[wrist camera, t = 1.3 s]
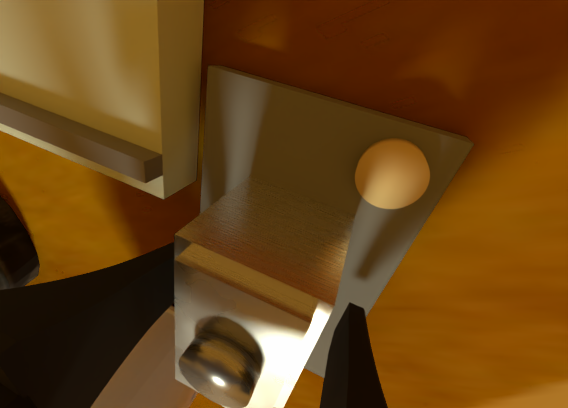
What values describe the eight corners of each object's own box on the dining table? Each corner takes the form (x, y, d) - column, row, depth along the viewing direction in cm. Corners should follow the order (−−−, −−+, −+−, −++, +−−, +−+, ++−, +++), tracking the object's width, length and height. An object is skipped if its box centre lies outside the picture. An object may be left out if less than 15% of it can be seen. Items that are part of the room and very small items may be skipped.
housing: (306, 326, 15) (262, 463, 10) (231, 290, 16) (153, 398, 11) (355, 215, 11) (324, 351, 6) (249, 175, 12) (138, 261, 7)
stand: (196, 180, 14) (147, 208, 12) (36, 117, 17) (-38, 127, 14) (210, -154, 8) (111, -275, 5) (-48, -182, 10) (-218, -279, 8)
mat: (329, 364, 18) (323, 395, 16) (202, 301, 19) (185, 323, 18) (466, 137, 9) (483, 152, 8) (221, 65, 11) (191, 65, 9)
